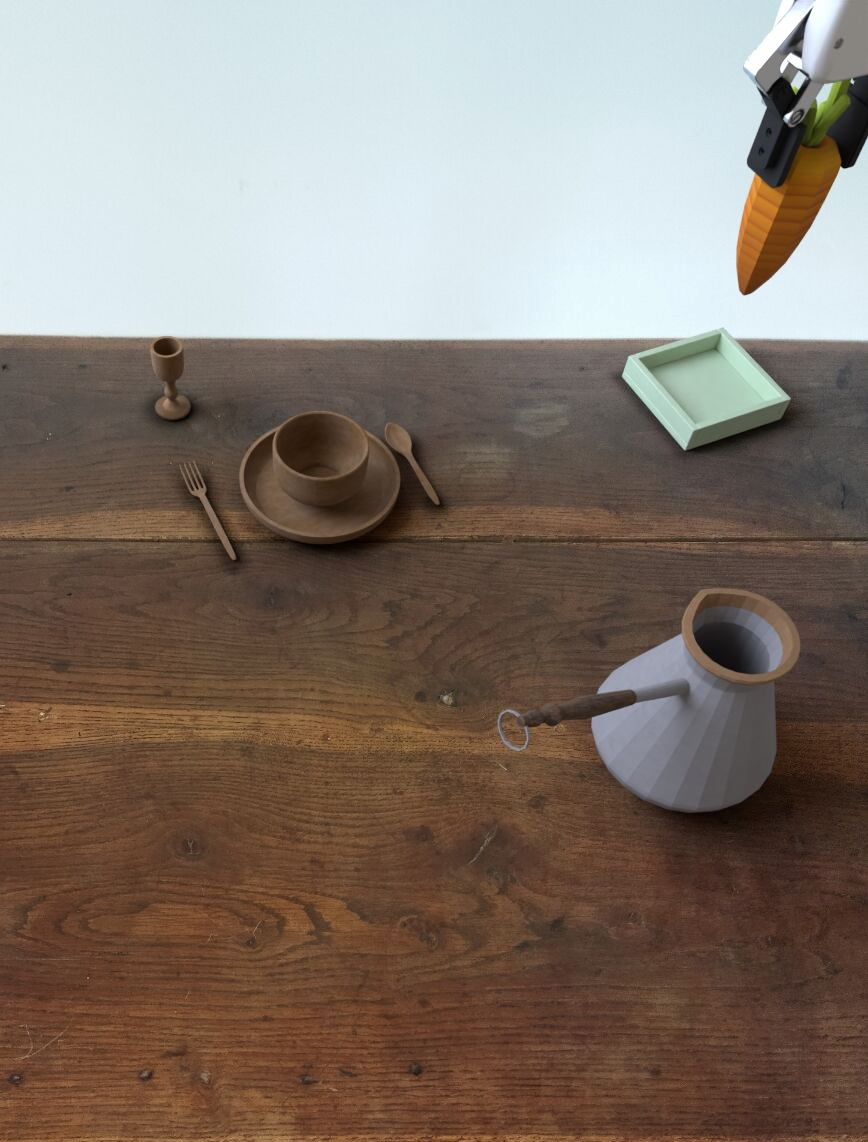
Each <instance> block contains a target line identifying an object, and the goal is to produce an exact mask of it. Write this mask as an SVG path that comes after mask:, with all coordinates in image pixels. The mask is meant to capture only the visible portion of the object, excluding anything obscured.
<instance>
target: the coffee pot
mask: <svg viewBox="0 0 868 1142" xmlns="http://www.w3.org/2000/svg"><path fill="white" fill-rule="evenodd" d="M796 626H797V625H795V623H794V621H793V620H792V619H791V617H790V616H789V615H788V613H787V612H786V611H784V609H783V608H781V607H780V606H779V605H777V603H776V602H773V601H772V600H770V599H768V598H766V597H765V596H763V595H761V594H757V593H755V592H752V591H749V590H744V589H737V588H724V587H723V588H720V587H716V588H715V587H714V588H702V589H700V590H699V591H698V592H697V594H696V595H695V596H694V597H693V598H692V600H691V601H690V602H689V604H688V605H687V607H686V609H685V611H684V614H683V617H682V620H681V633H679V634H677V635H675V636H674V637H672V638H670V639H669V640H666V641H664V642H662V643H661V644H658V645H657V646H655V647H653V648H651V649H649V650H647V651H646V652H644V653H642V654H640V655H637V656H636V657H634V658H631V659H630V660H628V661H627V662H625V663H624V664H623V665H620V666H619V667H617V668H616V669H615V670H613V671H612V672H611V673H610V674H609V675H608V677H606V679H605V680H604V681H603V683H602V684H601V685H600V686H599V687H598V690H597V693H592V694H585V695H580V696H578V695H577V696H576V697H574V698H572V699H569V700H567V701H565V702H562V703H560V704H557V703H555V702H547V703H546V704H545V705H544V704H543V707H542V709H540V710H539V709H530V710H528V711H526V712H524V713H522V714H520V713H519V712H518V711H516V710H513V709H511V708H509V709H506V710H504V711H502V712H500V714H499V716H498V719H497V728H498V732H499V735H500V737H501V739H502V742H503V743H504V745H506V746H507V747H508V748H509V749H511V750H512V751H513V750H514V751H517V752H521V751H523V750H525V749H528V747H529V745H530V743H531V740H532V737H531V731H530V728H538V727H540V726H541V725H542V724H545V725H547V726H548V727H552V728H553V727H557V726H558V725H560V724H561V722H562V721H584V720H589V719H591V725H590V728H591V732H592V735H593V739H594V743H595V747H596V750H597V752H598V755H599V756H600V758H601V760H602V761H603V763H604V766H605V767H606V768H607V770H608V772H609V773H610V774H611V776H613V778H615V779H616V781H618V783H620V784H621V786H623V788H624V789H626V790H628V791H629V792H630V793H632V794H633V795H635V796H637V797H638V798H639V799H641V800H643V802H646V803H649V804H652V805H654V806H656V807H659V808H662V809H665V810H669V811H676V812H682V813H687V814H692V813H708V812H715V811H720V810H723V809H727V808H729V807H732V806H735V805H738V804H740V803H742V802H743V801H744V800H746V799H747V798H748V797H750V796H751V795H753V794H754V793H756V792H757V791H759V790H760V788H761V787H762V786H763V784H764V783H765V781H766V780H767V779H768V777H769V776H770V774H771V773H772V770H773V766H774V762H775V758H776V755H777V751H778V749H777V721H776V693H775V692H776V691H775V682H776V681H779V680H781V679H782V678H784V677H785V676H786V675H788V674H789V673H791V671H792V670H793V669H794V667H795V666H796V665H797V663H798V660H799V657H800V654H801V653H800V652H801V637H800V634H799V631H798V629H797V627H796ZM507 713H510V714H513V715H515V716H516V717H517V718H516V724H517V726H518V727H519V728H524V730H525V734H526V741H525V744H524V746H523V747H521V748H520V747H516V746H514V745H513V744H512V743H511V742H509V741H508V740H507V738H506V736H505V733H504V731H503V724H502V721H503V718H504V715H505V714H507Z"/></svg>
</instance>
